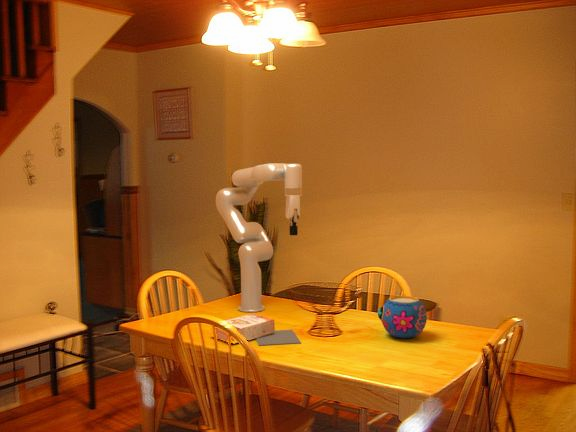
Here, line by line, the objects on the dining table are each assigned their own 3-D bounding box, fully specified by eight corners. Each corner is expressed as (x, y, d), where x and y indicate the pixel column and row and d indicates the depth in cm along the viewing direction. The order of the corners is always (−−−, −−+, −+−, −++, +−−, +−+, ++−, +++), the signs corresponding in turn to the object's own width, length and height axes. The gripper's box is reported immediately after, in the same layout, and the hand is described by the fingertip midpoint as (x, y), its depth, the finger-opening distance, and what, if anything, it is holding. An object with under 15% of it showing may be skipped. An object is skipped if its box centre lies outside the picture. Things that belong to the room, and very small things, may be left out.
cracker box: (274, 318, 231) (232, 330, 217) (275, 333, 231) (233, 346, 217) (252, 312, 241) (210, 323, 227) (253, 326, 242) (211, 338, 228)
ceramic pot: (392, 328, 240) (392, 292, 239) (433, 335, 230) (434, 297, 229) (372, 338, 226) (372, 300, 225) (415, 346, 216) (416, 306, 215)
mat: (253, 332, 235) (253, 331, 235) (292, 330, 237) (292, 329, 237) (258, 345, 217) (258, 344, 217) (301, 343, 220) (301, 342, 220)
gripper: (281, 192, 257) (282, 233, 259) (287, 193, 242) (288, 237, 244) (298, 191, 258) (298, 233, 260) (305, 193, 244) (305, 236, 245)
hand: (293, 235), depth 252 cm, fingers closed
